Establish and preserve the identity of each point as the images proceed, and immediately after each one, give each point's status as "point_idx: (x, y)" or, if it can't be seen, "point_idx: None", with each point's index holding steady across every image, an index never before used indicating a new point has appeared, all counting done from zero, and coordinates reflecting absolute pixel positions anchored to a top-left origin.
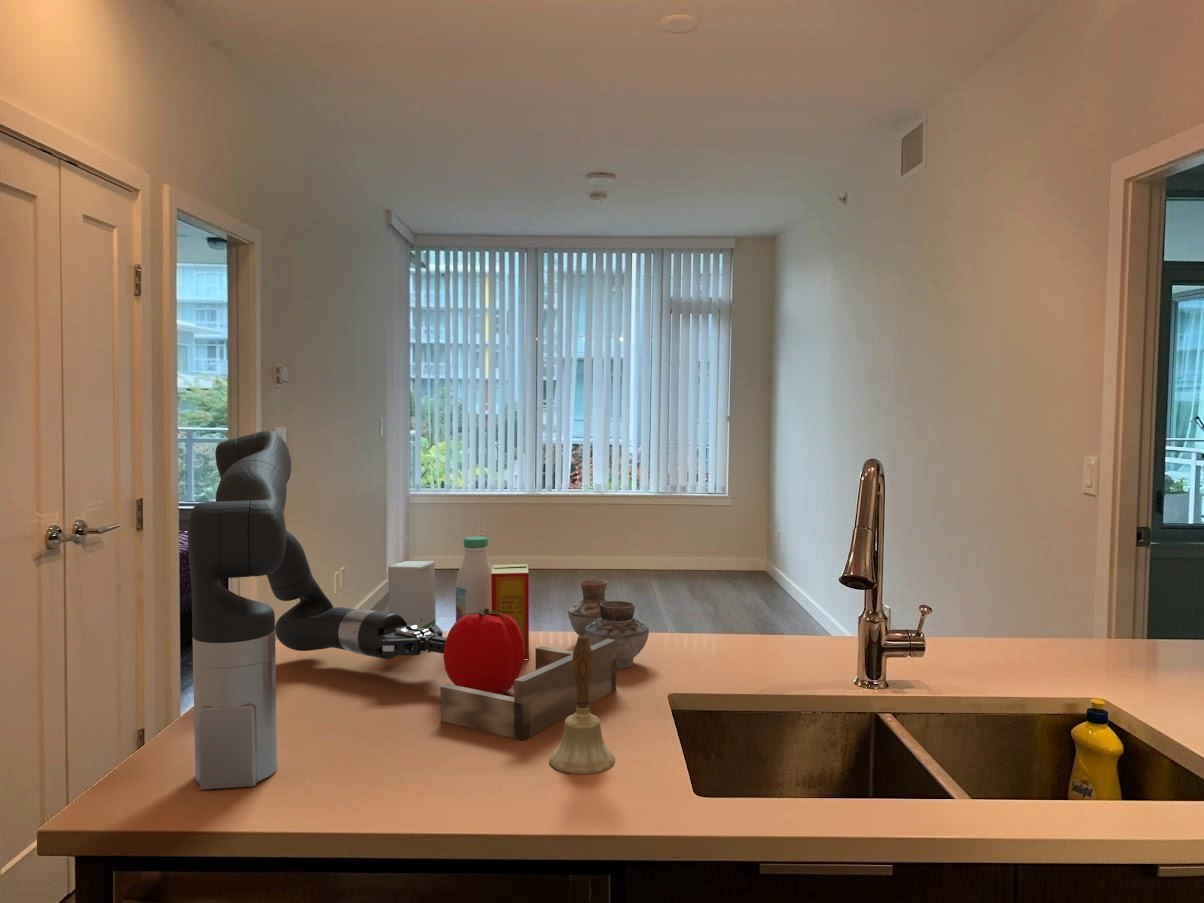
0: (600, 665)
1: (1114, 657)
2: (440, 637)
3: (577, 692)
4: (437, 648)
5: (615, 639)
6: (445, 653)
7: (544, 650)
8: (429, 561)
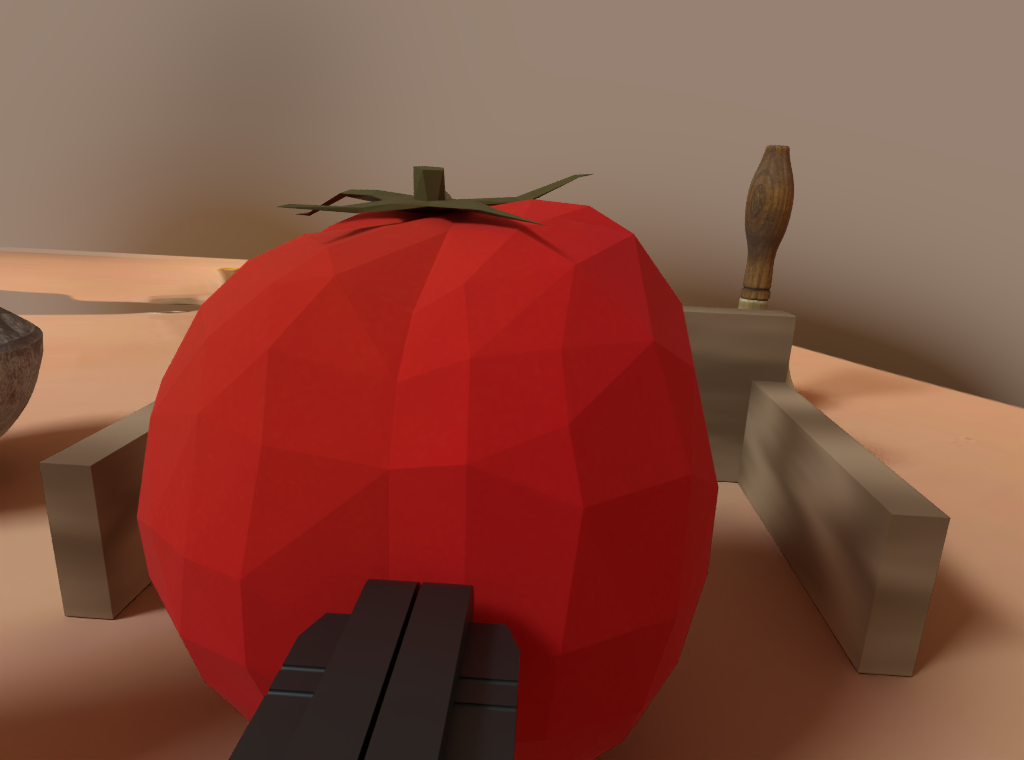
0: None
1: (54, 259)
2: (354, 703)
3: (772, 268)
4: (514, 752)
5: (39, 344)
6: (692, 552)
7: (131, 445)
8: None
